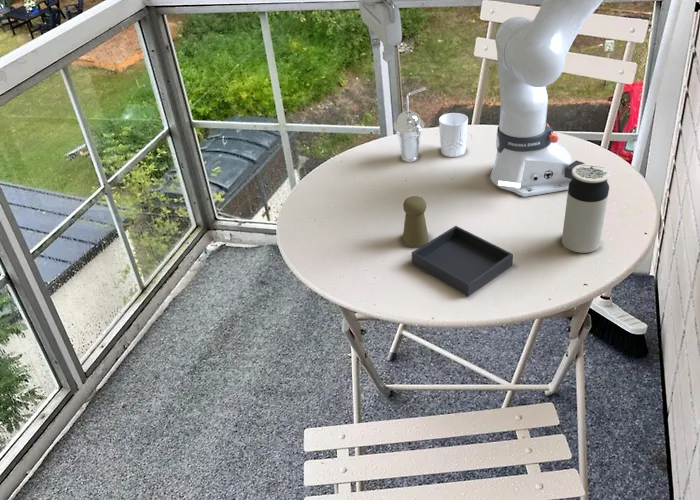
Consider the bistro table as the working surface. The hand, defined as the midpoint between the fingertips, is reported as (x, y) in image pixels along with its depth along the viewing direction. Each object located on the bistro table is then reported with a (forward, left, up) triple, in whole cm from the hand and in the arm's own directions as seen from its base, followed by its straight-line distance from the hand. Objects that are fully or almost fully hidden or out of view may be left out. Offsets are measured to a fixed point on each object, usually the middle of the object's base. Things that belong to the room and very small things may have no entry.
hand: (381, 53), depth 145 cm
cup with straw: (-6, -21, -38) cm, 44 cm away
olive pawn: (-5, +19, -38) cm, 43 cm away
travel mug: (-41, +24, -38) cm, 61 cm away
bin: (-15, +29, -38) cm, 50 cm away
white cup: (-18, -23, -38) cm, 48 cm away
